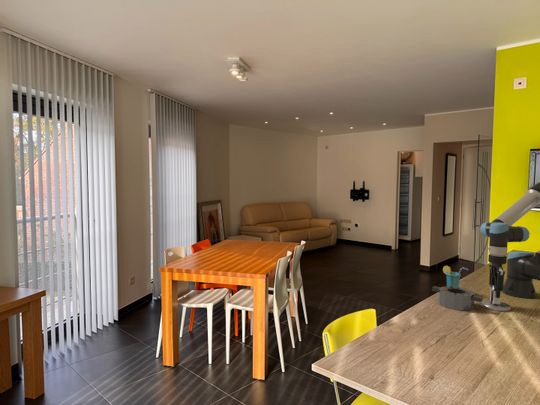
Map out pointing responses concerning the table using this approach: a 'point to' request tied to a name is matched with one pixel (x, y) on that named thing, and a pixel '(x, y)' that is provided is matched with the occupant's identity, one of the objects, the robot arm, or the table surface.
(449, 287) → the pot
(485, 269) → the table surface
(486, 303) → the lid
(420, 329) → the table surface
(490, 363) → the table surface
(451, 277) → the cup
